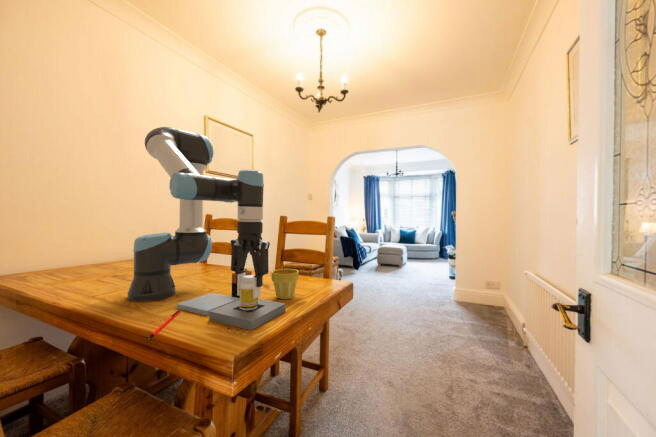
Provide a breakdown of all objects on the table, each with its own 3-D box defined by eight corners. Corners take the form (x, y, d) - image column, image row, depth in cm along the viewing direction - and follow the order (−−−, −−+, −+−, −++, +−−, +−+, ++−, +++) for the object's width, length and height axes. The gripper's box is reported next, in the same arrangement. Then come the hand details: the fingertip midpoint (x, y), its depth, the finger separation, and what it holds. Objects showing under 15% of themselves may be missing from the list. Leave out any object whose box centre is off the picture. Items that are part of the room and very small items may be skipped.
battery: (251, 294, 103) (252, 268, 103) (240, 299, 97) (240, 272, 97) (242, 293, 105) (243, 267, 105) (230, 297, 98) (231, 271, 98)
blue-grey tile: (177, 308, 86) (177, 303, 86) (211, 296, 99) (211, 292, 99) (207, 315, 81) (207, 310, 81) (240, 302, 93) (240, 298, 93)
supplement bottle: (260, 309, 81) (260, 277, 81) (241, 312, 78) (242, 279, 78) (254, 303, 85) (255, 273, 85) (237, 306, 82) (238, 275, 82)
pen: (181, 312, 84) (181, 308, 84) (150, 340, 65) (151, 335, 65) (178, 312, 84) (178, 308, 84) (146, 340, 65) (147, 336, 65)
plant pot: (266, 295, 102) (266, 270, 102) (289, 291, 108) (290, 267, 108) (279, 302, 94) (279, 275, 94) (303, 297, 100) (303, 271, 100)
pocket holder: (209, 319, 78) (209, 311, 77) (247, 303, 92) (247, 296, 92) (251, 330, 71) (251, 321, 71) (285, 311, 85) (285, 303, 85)
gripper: (218, 220, 82) (217, 294, 82) (266, 222, 74) (265, 304, 74) (236, 219, 88) (235, 288, 89) (282, 221, 81) (280, 296, 81)
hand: (248, 295), depth 82 cm, fingers closed on supplement bottle, 5 cm apart
